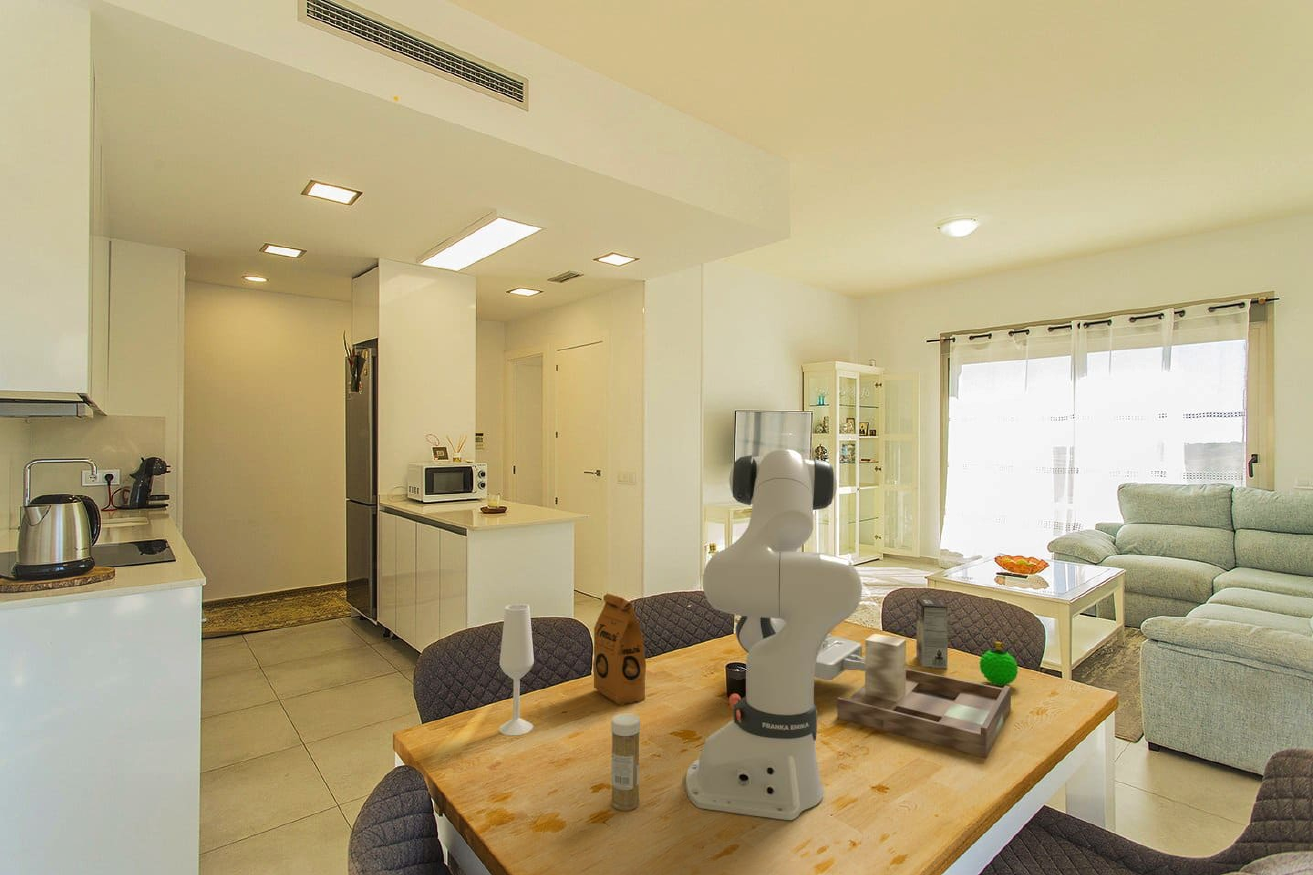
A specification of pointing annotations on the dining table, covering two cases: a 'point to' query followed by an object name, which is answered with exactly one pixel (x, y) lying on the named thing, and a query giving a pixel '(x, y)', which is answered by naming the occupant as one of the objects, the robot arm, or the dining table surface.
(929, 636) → the coffee box
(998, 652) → the ornament
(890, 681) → the birch block
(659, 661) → the dining table surface
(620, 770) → the spice jar
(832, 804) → the dining table surface
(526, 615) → the champagne flute
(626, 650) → the coffee package
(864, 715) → the tray
